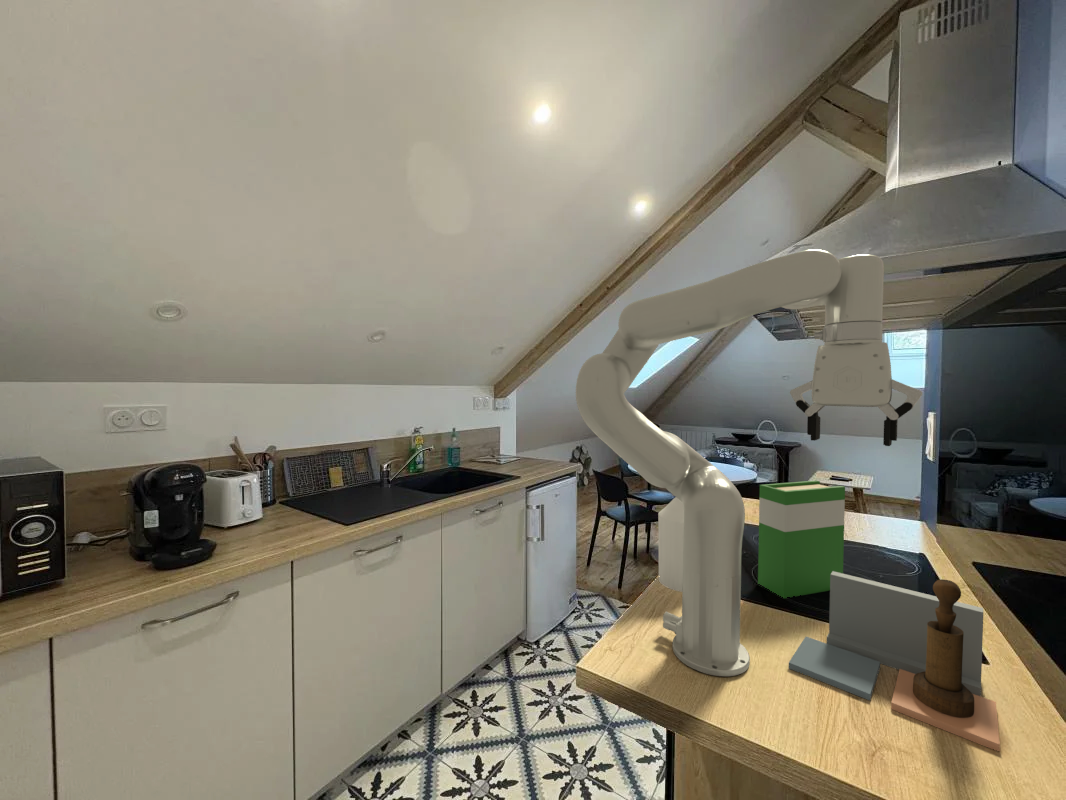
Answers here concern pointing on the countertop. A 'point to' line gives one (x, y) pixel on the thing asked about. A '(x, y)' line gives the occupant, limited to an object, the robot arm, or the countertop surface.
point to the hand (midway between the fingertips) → (849, 442)
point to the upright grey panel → (898, 625)
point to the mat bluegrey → (836, 667)
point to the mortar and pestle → (944, 659)
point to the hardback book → (800, 536)
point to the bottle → (671, 545)
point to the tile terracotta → (972, 728)
